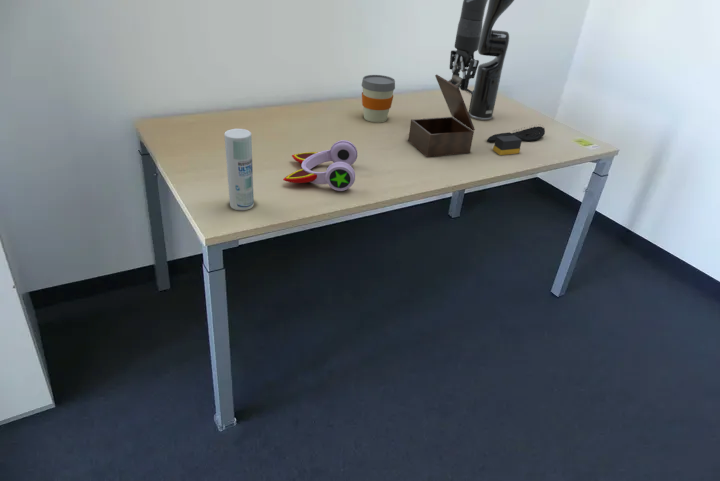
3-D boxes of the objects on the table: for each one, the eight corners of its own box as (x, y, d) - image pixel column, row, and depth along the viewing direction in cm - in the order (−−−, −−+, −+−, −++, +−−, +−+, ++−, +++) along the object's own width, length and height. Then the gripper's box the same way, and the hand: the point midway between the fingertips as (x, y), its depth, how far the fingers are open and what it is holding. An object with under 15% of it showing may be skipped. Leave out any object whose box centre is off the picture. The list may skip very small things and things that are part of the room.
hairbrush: (482, 130, 193) (536, 121, 202) (480, 139, 195) (534, 130, 204) (496, 138, 187) (551, 129, 196) (494, 148, 189) (548, 138, 198)
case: (427, 157, 176) (430, 135, 172) (408, 140, 187) (410, 119, 183) (469, 153, 182) (474, 131, 178) (448, 137, 193) (452, 116, 189)
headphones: (357, 168, 146) (285, 154, 144) (351, 199, 151) (281, 185, 150) (360, 141, 163) (295, 128, 161) (353, 170, 168) (291, 157, 166)
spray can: (239, 213, 136) (235, 140, 126) (224, 204, 140) (218, 132, 129) (259, 205, 141) (256, 134, 130) (244, 196, 144) (240, 126, 134)
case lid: (456, 88, 166) (470, 78, 166) (434, 75, 178) (447, 66, 178) (473, 130, 177) (486, 122, 177) (451, 116, 189) (464, 107, 189)
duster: (499, 155, 182) (503, 141, 179) (492, 150, 185) (495, 136, 183) (519, 153, 185) (522, 139, 182) (511, 148, 188) (514, 135, 186)
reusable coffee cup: (374, 126, 197) (378, 86, 189) (352, 116, 205) (355, 77, 197) (398, 120, 205) (402, 81, 197) (376, 110, 212) (379, 73, 204)
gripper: (491, 38, 162) (480, 93, 171) (467, 29, 173) (457, 80, 182) (470, 38, 159) (459, 94, 168) (447, 28, 170) (438, 81, 179)
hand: (458, 87), depth 175 cm, fingers closed on case lid, 5 cm apart
